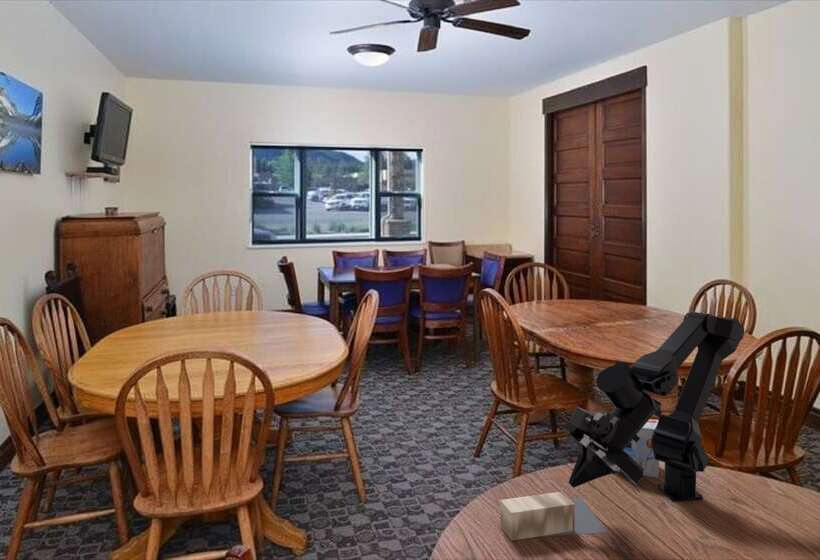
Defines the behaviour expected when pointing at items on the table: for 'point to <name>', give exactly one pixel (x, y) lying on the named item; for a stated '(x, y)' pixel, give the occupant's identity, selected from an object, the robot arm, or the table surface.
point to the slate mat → (583, 520)
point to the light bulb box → (644, 450)
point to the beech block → (537, 515)
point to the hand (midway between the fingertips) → (570, 485)
